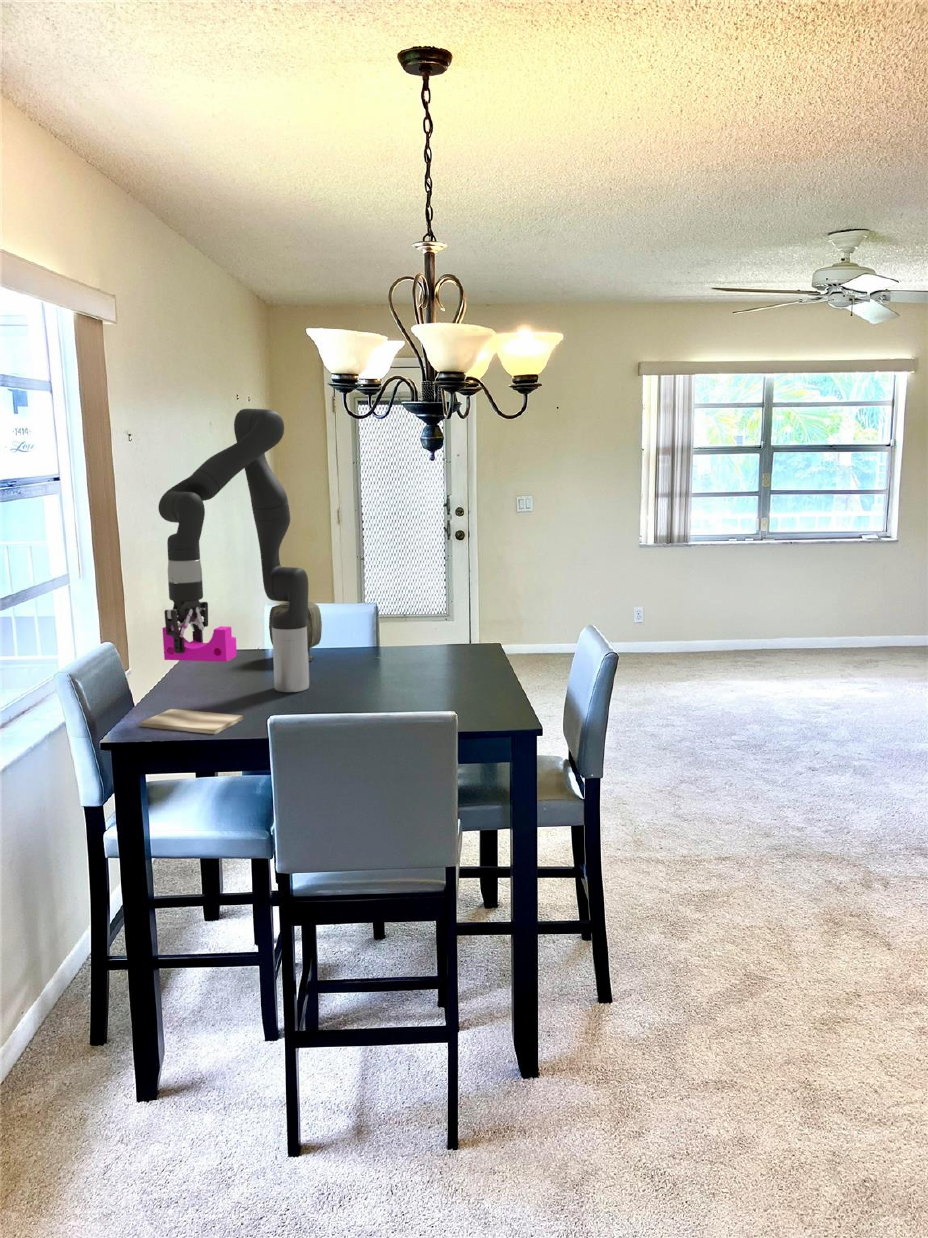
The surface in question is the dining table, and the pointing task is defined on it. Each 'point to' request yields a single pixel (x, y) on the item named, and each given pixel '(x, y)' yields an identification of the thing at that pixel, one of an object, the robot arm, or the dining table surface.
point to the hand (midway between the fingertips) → (188, 649)
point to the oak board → (192, 721)
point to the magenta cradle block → (203, 647)
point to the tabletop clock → (312, 623)
